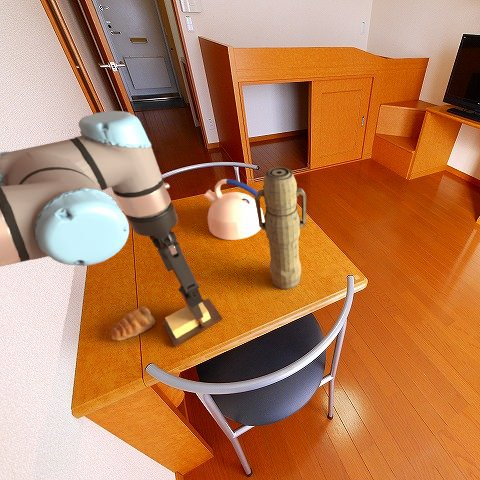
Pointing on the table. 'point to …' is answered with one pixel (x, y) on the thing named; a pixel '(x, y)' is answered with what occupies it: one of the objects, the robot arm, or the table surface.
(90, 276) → the table surface
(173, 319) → the butter block
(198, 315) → the cutter
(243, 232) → the kettle
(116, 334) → the pastry
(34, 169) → the robot arm
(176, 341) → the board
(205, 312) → the butter slice
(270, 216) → the thermos
